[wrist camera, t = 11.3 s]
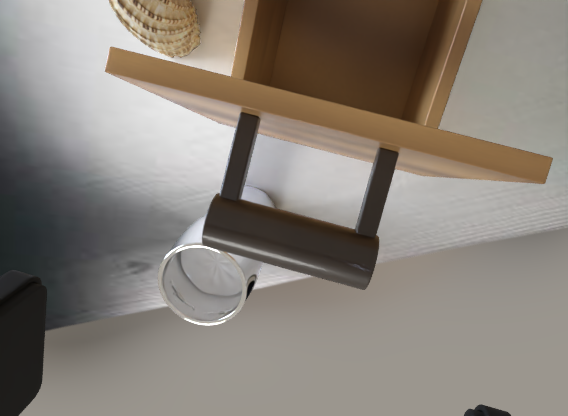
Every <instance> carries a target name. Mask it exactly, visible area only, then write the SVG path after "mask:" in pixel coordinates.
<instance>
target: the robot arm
mask: <svg viewBox="0 0 568 416" xmlns="http://www.w3.org/2000/svg"><path fill="white" fill-rule="evenodd" d="M46 300H47V289H46V287H45V286H43V285H42V283H41V280H40V278H38V277H36V276H33V275H29V274H26V273H22V272H19V271H15V270H11V271H9V272H7V273H5V274H4V275H2V276H1V277H0V416H19V414H20V413H21V412H22V411H23V410H24V409H25V408H26V406H28V405H29V404H30V402H31V401H32V400H33V399H34V398H35V397H36V395H37V393H38V392H39V389H40V387H41V384H42V375H43V356H44V355H43V354H44V337H45V318H46ZM464 416H511V415H510V414H509V413H508V412H506V411H502V410H499V409H495V408H492V407H488V406H485V405H478V406H477V407H476V408H475V409H474V410H473V409H468V410H467V411H466V412H465V414H464Z"/></svg>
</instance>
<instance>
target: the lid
mask: <svg viewBox="0 0 568 416" xmlns="http://www.w3.org/2000/svg"><path fill="white" fill-rule="evenodd" d="M105 72H107V73H109V74H111V75H114V76H116V77H118V78H120V79H122V80H125V81H127V82H129V83H131V84H134V85H136V86H138V87H140V88H142V89H145V90H147V91H149V92H151V93H154V94H156V95H158V96H160V97H162V98H165V99H167V100H169V101H171V102H173V103H176V104H178V105H180V106H182V107H185V108H187V109H189V110H191V111H193V112H196V113H198V114H200V115H202V116H205V117H207V118H209V119H211V120H213V121H216V122H218V123H220V124H224V125H227V126H231V127H235V128H236V130H235V134H234V138H233V142H232V146H231V150H230V154H229V158H228V163H227V167H226V171H225V175H224V179H223V183H222V187H221V191H220V193H218V194H216V195H215V196H214V198H213V200H212V202H211V204H210V206H209V209H208V211H207V215H206V218H205V222H204V226H203V232H202V244H203V245H204V246H206V247H209V248H213V249H216V250H220V251H224V252H227V253H231V254H235V255H238V256H242V257H246V258H249V259H253V260H256V261H260V262H264V263H267V264H271V265H275V266H278V267H282V268H286V269H289V270H293V271H296V272H300V273H304V274H307V275H311V276H315V277H318V278H322V279H326V280H329V281H333V282H336V283H341V284H344V285H347V286H351V287H355V288H359V289H362V290H365V289H366V288H367V286H368V284H369V282H370V280H371V277H372V274H373V271H374V268H375V264H376V260H377V255H378V250H379V237H378V236H377V235H376V234H377V230H378V227H379V223H380V219H381V216H382V212H383V209H384V205H385V202H386V198H387V195H388V191H389V188H390V184H391V181H392V177H393V174H394V170H395V169H398V170H402V171H405V172H409V173H413V174H417V175H421V176H431V177H446V178H461V179H477V180H492V181H508V182H523V183H539V184H545V182H546V179H547V176H548V173H549V169H550V166H551V163H552V160H553V158H551V157H548V156H544V155H540V154H536V153H532V152H528V151H524V150H520V149H516V148H512V147H508V146H504V145H500V144H496V143H492V142H488V141H484V140H480V139H476V138H472V137H468V136H464V135H460V134H456V133H452V132H448V131H444V130H440V129H436V128H433V127H429V126H425V125H421V124H417V123H413V122H409V121H405V120H401V119H397V118H393V117H389V116H385V115H381V114H377V113H373V112H369V111H365V110H361V109H357V108H353V107H349V106H345V105H341V104H337V103H333V102H329V101H325V100H321V99H317V98H313V97H309V96H305V95H302V94H298V93H294V92H290V91H286V90H282V89H278V88H274V87H270V86H266V85H262V84H258V83H254V82H250V81H246V80H242V79H238V78H234V77H230V76H226V75H222V74H218V73H214V72H210V71H206V70H202V69H198V68H194V67H190V66H186V65H182V64H178V63H175V62H171V61H167V60H163V59H159V58H155V57H151V56H147V55H143V54H139V53H135V52H131V51H127V50H123V49H119V48H115V47H110V49H109V53H108V58H107V63H106V67H105ZM257 133H258V134H262V135H266V136H270V137H274V138H278V139H282V140H285V141H289V142H293V143H297V144H301V145H305V146H309V147H313V148H316V149H320V150H324V151H328V152H332V153H336V154H340V155H343V156H347V157H351V158H355V159H359V160H363V161H367V162H371V163H373V166H372V170H371V174H370V177H369V181H368V184H367V188H366V192H365V195H364V199H363V202H362V206H361V210H360V213H359V217H358V220H357V224H356V228H355V229H351V228H348V227H344V226H340V225H336V224H333V223H329V222H325V221H321V220H318V219H314V218H310V217H306V216H303V215H299V214H295V213H292V212H288V211H284V210H280V209H277V208H273V207H269V206H265V205H262V204H258V203H254V202H250V201H247V200H243V199H241V197H242V193H243V189H244V185H245V181H246V177H247V173H248V169H249V165H250V161H251V157H252V153H253V149H254V145H255V141H256V137H257Z"/></svg>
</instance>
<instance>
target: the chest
mask: <svg viewBox="0 0 568 416" xmlns="http://www.w3.org/2000/svg"><path fill="white" fill-rule="evenodd" d="M481 3H482V0H245V1H244V6H243V12H242V18H241V23H240V29H239V34H238V40H237V45H236V51H235V56H234V62H233V67H232V73H231V77H234V78H238V79H242V80H246V81H250V82H254V83H258V84H262V85H266V86H270V87H274V88H278V89H282V90H286V91H290V92H294V93H298V94H302V95H305V96H309V97H313V98H317V99H321V100H325V101H329V102H333V103H337V104H341V105H345V106H349V107H353V108H357V109H361V110H365V111H369V112H373V113H377V114H381V115H385V116H389V117H393V118H397V119H401V120H405V121H409V122H413V123H417V124H421V125H425V126H429V127H433V128H436V129H438V127H439V124H440V121H441V118H442V115H443V112H444V109H445V107H446V104H447V101H448V98H449V95H450V92H451V89H452V86H453V84H454V81H455V78H456V75H457V72H458V69H459V66H460V63H461V61H462V58H463V55H464V52H465V49H466V46H467V43H468V41H469V38H470V35H471V32H472V29H473V26H474V23H475V20H476V18H477V15H478V12H479V9H480V6H481Z"/></svg>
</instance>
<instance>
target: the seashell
mask: <svg viewBox="0 0 568 416" xmlns="http://www.w3.org/2000/svg"><path fill="white" fill-rule="evenodd" d="M109 3H110V5H111V7H112V9H113V11H114V13H115V14H116V16H117V17H118V19H119V20H120V21H121V23H122V24H123V25H124V26H125V27H126V28H127V30H128V31H129V32H130V33H131V34H133V35H134V36H135V37H136V38H137V39H138V40H140V41H141V42H142V43H144V44H145V45H147V46H148V47H149V48H151V49H153V50H154V51H156V52H159V53H161V54H164V55H166V56H169V57H172V58H173V57H174V56H178V57H183V56H187V55H188V54H189V53H190V52H191V51H192V50H194V49H195V48H196V47H198V46H199V45H200V44H201V43H200V36H199V34H200V33H201V32H200V31H199V26H200V24H198V22H197V18H198V15H196V13H195V12H196V9H195V8H194V7H193V4H192V2H190V1H189V0H109Z"/></svg>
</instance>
